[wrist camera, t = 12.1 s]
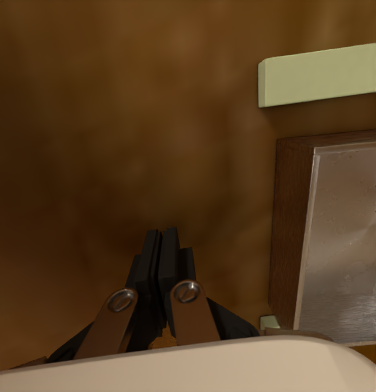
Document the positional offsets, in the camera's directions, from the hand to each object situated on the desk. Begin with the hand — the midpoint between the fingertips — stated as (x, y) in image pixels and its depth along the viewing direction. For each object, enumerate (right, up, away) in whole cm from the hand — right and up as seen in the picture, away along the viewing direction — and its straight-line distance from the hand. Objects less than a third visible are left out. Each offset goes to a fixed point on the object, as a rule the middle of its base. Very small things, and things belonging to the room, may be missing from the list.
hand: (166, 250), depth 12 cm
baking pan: (+13, +1, +1) cm, 13 cm away
